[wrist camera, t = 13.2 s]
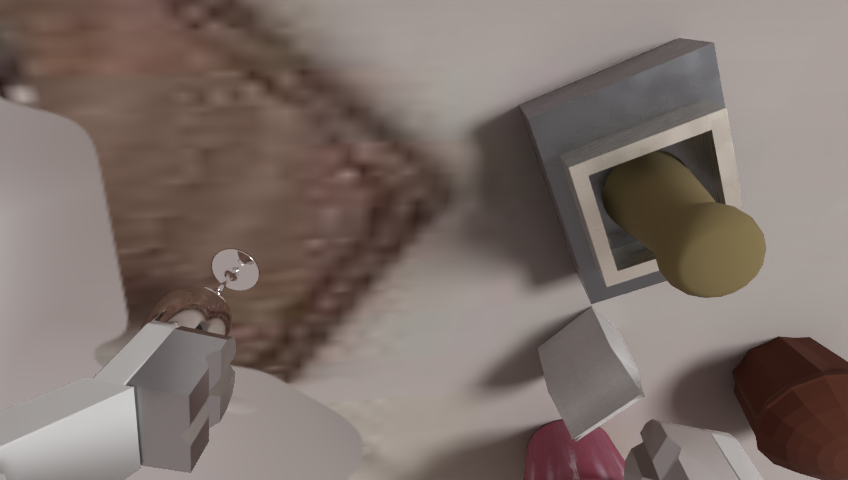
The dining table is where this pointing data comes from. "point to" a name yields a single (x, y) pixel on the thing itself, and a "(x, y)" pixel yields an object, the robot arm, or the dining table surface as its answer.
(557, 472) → the plant pot
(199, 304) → the wineglass
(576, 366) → the white box
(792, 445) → the muffin
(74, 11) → the dining table surface
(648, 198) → the cork
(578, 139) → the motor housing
